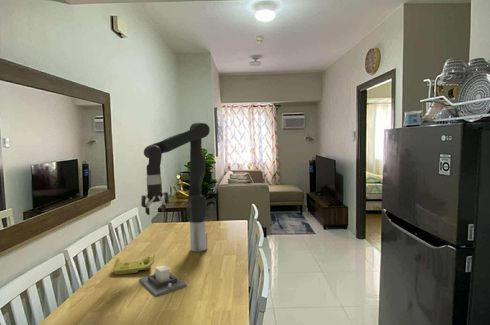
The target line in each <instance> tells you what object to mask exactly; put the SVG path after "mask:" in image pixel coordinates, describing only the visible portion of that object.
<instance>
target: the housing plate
mask: <svg viewBox="0 0 490 325" xmlns="http://www.w3.org/2000/svg"><path fill="white" fill-rule="evenodd" d="M169 275H170V280H167V281H164V282H160V283H159V282H157V281H156V274H155V271H153V274H151V275H148V276H145V277H141V278H139V279H138V281H139V282H140V283H141V284H142V285H143V286H144V287H145V288H146V289H147V290H148V291H150V293H151V294H152V295H153V296H155V297H159V296H161V295H162V296H163V295H164V294H168V293H170V292H173V291H177V290H179V289H182V288H185V287H187V283H186V282H184V280H181V278H179V277H178V276H176V274H173V273H172V272H171V271H169Z"/></svg>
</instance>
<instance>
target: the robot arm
mask: <svg viewBox="0 0 490 325" xmlns="http://www.w3.org/2000/svg"><path fill="white" fill-rule="evenodd" d="M210 132H211V130H210V126H209V124H207V123H206V122H203V121H201V122H200V121H199V122H194V123H192V124H191V125H190V127H189V130H187V131H184V132H181V133H178V134H175V135H172V136H169V137H167V138H165V139H162V140H161V141H158V142H155V143H152V144H149V145H147V146H145V148H144V150H143V155H144V157H146V158H147V159H148V163H147V165H146V187H147V188H146V189H147V190H146V191H147V192H146V193H147V194H146V195H145V194H144V195H140V196H141V198H140V199H141V200H140V201H141V202H140V203H141V204H140V205H141V207H142V208H145V209H144V210H145V214H146V215H147V216H150V213H151V212H150V211H151V210H150V206H151V205H152V203H154V204H155V203H161V212H162V213H165V212H166V205H167V204H169V193H168V192H166V191H164V192H163V189H162V188H163V186H162V184H163V182H162V176H161V175H162V173H161V162H162V158H163V157H162V154H164V153H170V152H171V151H174V150H175V149H177V148H180V147H182V146H184V145H186V144H188V143H190V147H189V148H190V149H189V152H190V154H189V156H190V157H189V187H188V195H187V196H188V197H187V204H188V206H189V207H190V208H191V212H190V213H191V215H190V216H189V238H190V239H189V240H190V244H189V246H190V251H191V252H194V253H199V252H204V251H206V250H208V249H209V246H208V244H209V243H208V232H207V226H206V225H207V224H206V221H207V220H206V219H207V218H206V217H207V215H208V214H207V211H208V210H207V208H208V207H207V206H208V205H207V204H208V203H207V199H206V197H205V196H204V195H202V194H203V193H202V184H203V181H204V177H205V174H206V157H205V153H204V151H203V147H202V146H203V145H202V144H203V143H202V140H203V139H204V138H207V137H208V136H209V134H210ZM163 197H164V198H163ZM146 200H147V201H146Z"/></svg>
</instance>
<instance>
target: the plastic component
mask: <svg viewBox="0 0 490 325" xmlns="http://www.w3.org/2000/svg"><path fill="white" fill-rule="evenodd" d="M155 259H156V253H155V254H153V255H152V256H146V257H143V258H141V259H136V260H129V261H128V260H126V261H121V260H120V258H119V257H116V258H115V261H114V263H113V266H112V271H113V273H114V274H115V275H125V274H134V273H135V274H136V273H138V272H139V271H143V270H145V271H149V270H151V267H152V266H153V265H154V263H155Z"/></svg>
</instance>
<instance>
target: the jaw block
mask: <svg viewBox="0 0 490 325" xmlns="http://www.w3.org/2000/svg"><path fill="white" fill-rule="evenodd" d="M154 272H155V274H156V281H157V282H159V283H160V282H164V281H167V280H170V275H169V272H170V268H168V267H167V266H166V265H164V264H161V265H159V266H155V271H154Z"/></svg>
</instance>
